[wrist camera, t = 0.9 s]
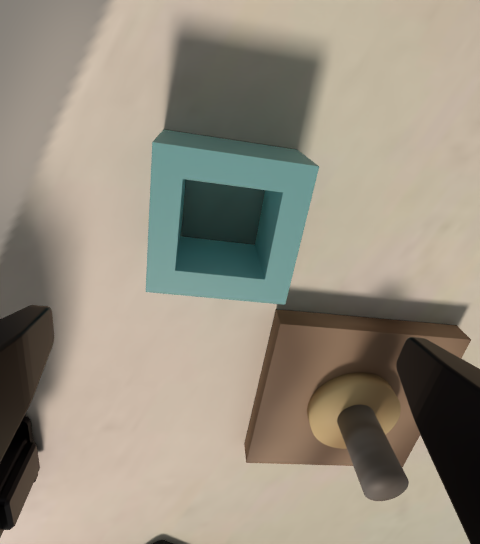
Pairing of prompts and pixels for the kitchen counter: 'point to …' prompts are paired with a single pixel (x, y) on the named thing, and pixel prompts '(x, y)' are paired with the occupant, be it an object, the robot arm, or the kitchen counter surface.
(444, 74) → the kitchen counter surface
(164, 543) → the smart home device
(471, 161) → the kitchen counter surface
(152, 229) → the collar
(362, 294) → the kitchen counter surface
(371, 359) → the stand
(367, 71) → the kitchen counter surface
